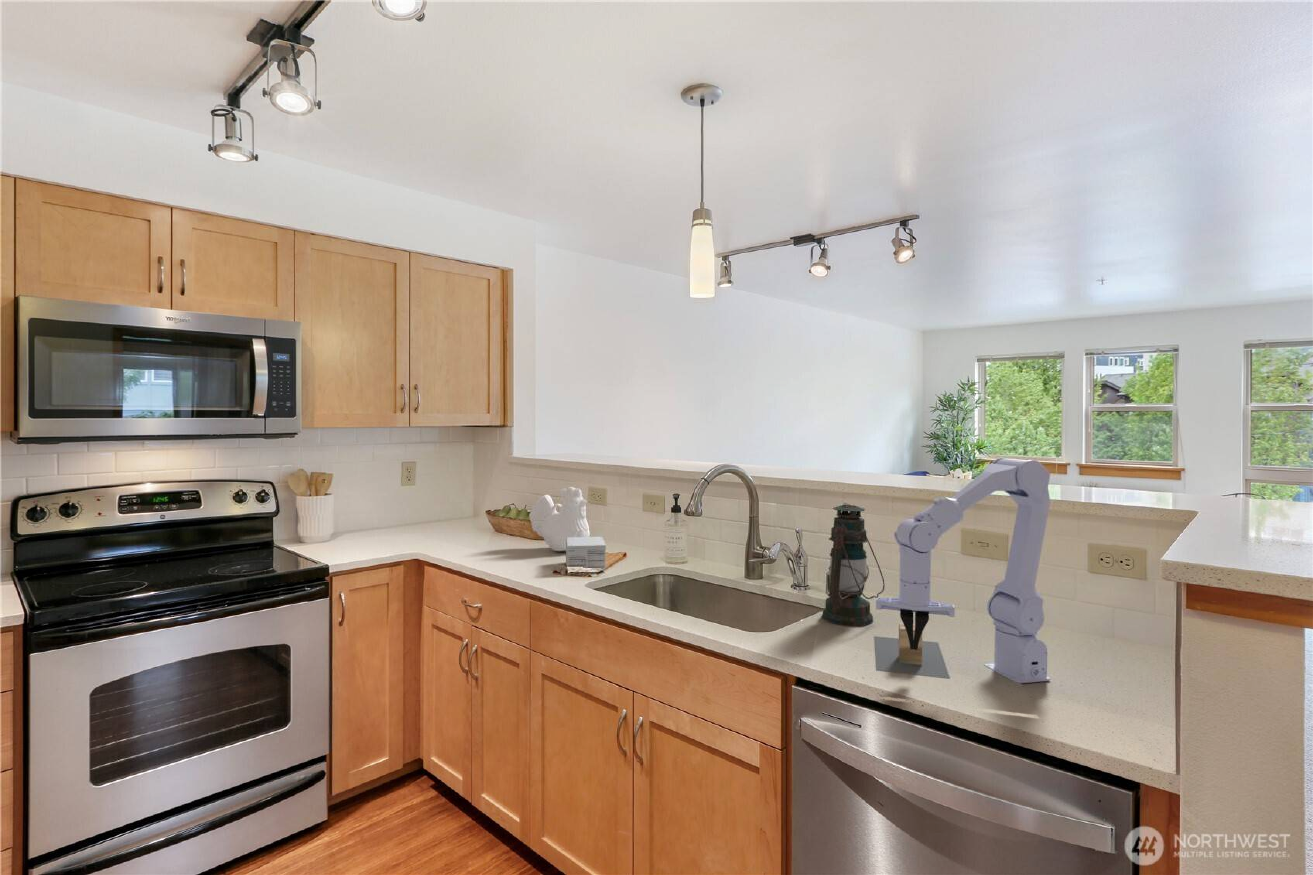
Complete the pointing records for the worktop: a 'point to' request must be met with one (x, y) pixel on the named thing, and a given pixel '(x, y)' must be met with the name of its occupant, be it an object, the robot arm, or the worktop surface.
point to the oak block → (908, 648)
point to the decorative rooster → (560, 518)
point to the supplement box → (586, 552)
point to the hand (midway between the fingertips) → (913, 647)
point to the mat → (890, 663)
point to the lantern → (848, 570)
